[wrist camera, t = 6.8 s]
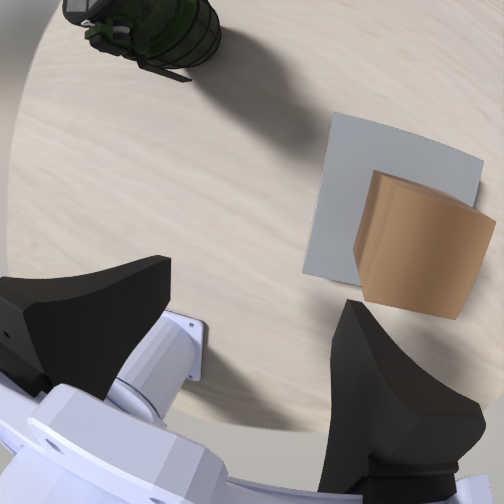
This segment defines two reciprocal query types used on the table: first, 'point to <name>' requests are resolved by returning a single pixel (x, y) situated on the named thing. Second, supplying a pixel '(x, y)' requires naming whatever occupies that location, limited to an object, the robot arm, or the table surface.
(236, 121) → the table surface
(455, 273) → the walnut block
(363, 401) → the robot arm
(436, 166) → the gray block
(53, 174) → the table surface
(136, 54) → the grenade
